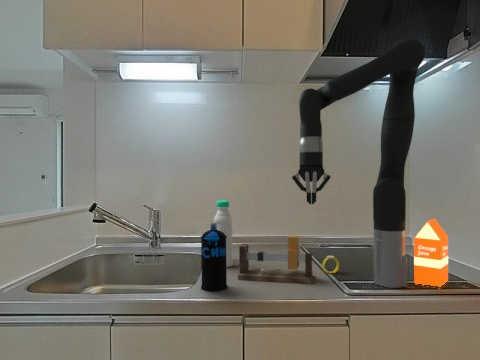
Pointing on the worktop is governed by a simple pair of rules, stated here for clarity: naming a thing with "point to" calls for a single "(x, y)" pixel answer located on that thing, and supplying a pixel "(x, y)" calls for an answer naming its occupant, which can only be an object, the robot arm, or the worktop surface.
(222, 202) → the water bottle
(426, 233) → the orange juice
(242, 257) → the rig
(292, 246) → the collar
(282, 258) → the grey square bar
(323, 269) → the watch
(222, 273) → the aerosol can
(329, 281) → the worktop surface
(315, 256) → the worktop surface
